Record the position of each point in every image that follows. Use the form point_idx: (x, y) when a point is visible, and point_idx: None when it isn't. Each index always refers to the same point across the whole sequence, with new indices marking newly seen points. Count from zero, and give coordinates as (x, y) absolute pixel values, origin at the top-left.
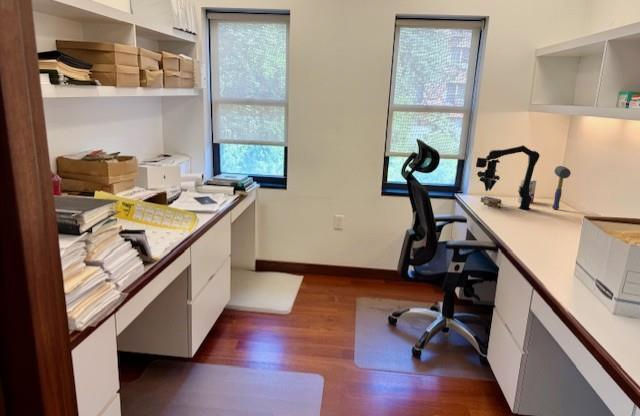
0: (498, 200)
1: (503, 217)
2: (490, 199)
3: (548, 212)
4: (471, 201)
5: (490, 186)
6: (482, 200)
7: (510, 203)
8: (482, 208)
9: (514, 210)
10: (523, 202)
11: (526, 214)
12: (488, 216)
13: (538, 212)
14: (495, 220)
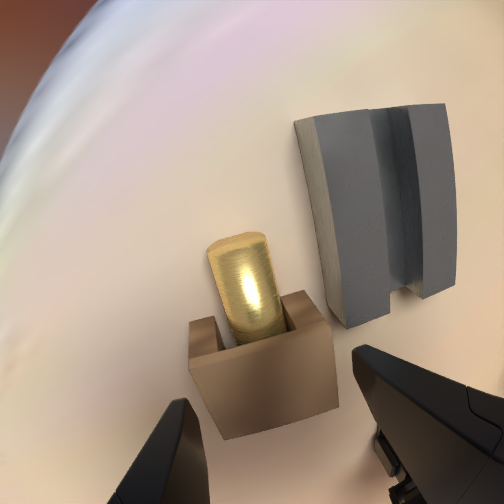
0: (296, 409)
1: (85, 496)
2: (238, 358)
3: None
4: (176, 66)
5: (404, 428)
6: (306, 145)
7: (479, 294)
8: (61, 363)
9: (298, 453)
10: (398, 469)
11: (275, 500)
12: (13, 461)
13: (380, 473)
14: (22, 489)
